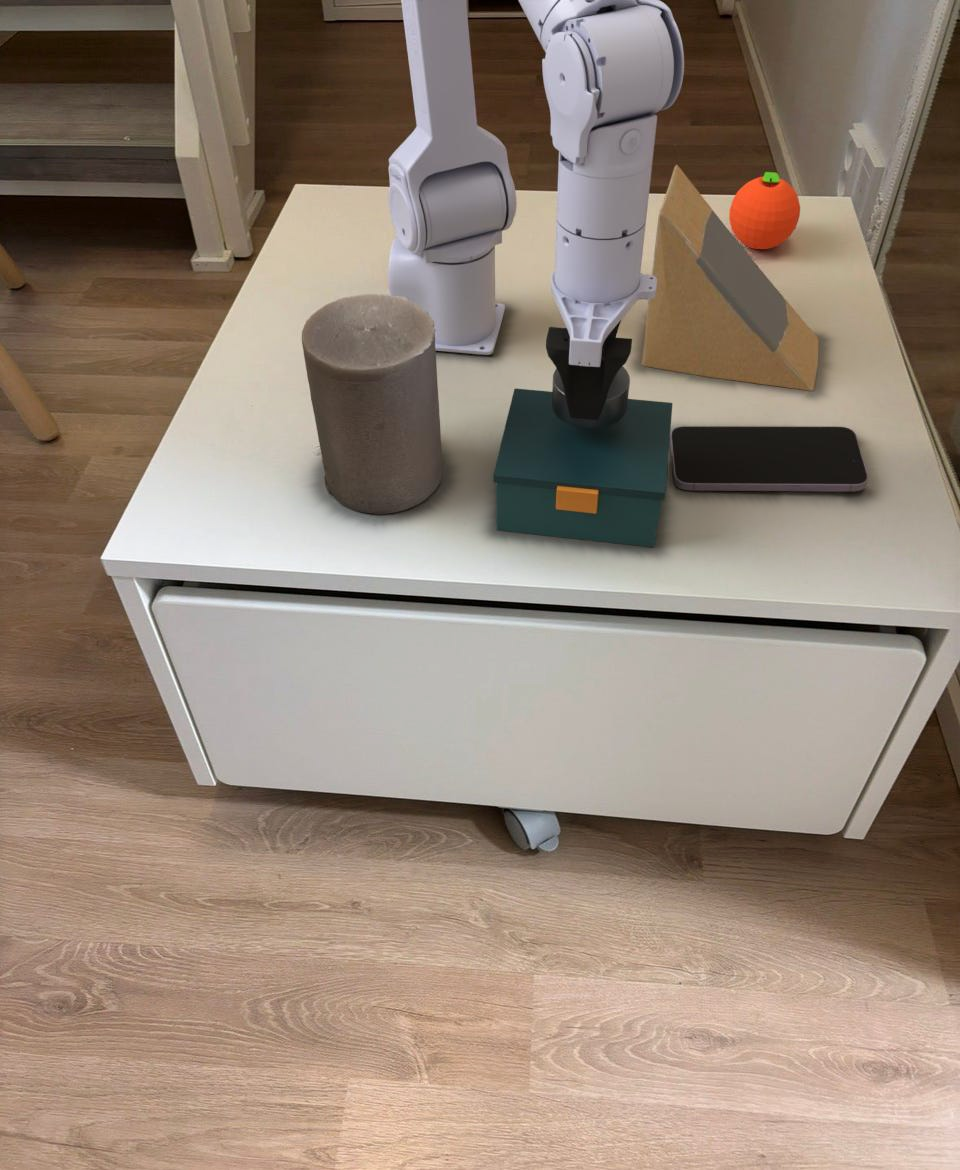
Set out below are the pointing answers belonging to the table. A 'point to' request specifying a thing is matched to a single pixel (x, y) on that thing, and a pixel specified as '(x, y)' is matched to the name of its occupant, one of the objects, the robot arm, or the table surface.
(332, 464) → the pillar candle
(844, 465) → the smartphone
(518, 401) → the box
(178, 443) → the table surface
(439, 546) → the table surface
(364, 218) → the table surface
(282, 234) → the table surface
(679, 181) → the sandwich container
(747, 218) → the clementine
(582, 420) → the grey disc
